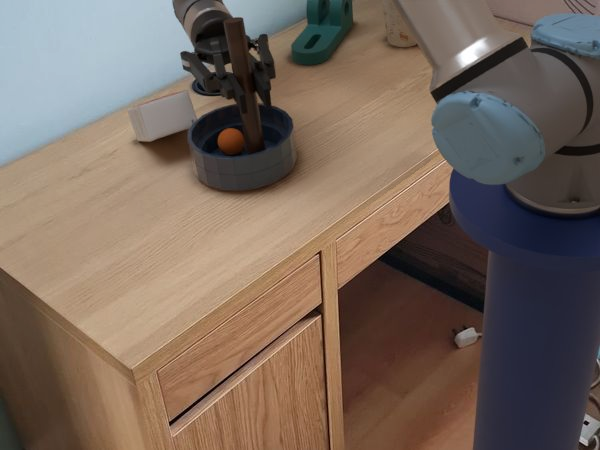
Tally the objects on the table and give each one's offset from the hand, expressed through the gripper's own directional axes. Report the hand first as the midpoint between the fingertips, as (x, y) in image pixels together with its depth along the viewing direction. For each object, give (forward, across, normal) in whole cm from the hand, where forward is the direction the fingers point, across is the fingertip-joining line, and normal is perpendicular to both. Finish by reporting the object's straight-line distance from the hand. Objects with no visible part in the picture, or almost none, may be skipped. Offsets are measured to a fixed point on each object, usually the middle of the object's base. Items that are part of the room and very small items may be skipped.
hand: (255, 101), depth 102 cm
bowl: (-8, +1, -14) cm, 17 cm away
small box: (-24, +12, -12) cm, 29 cm away
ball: (-11, +2, -12) cm, 16 cm away
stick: (-4, 0, -11) cm, 12 cm away
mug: (-33, -37, -14) cm, 52 cm away
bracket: (-42, -23, -14) cm, 50 cm away
